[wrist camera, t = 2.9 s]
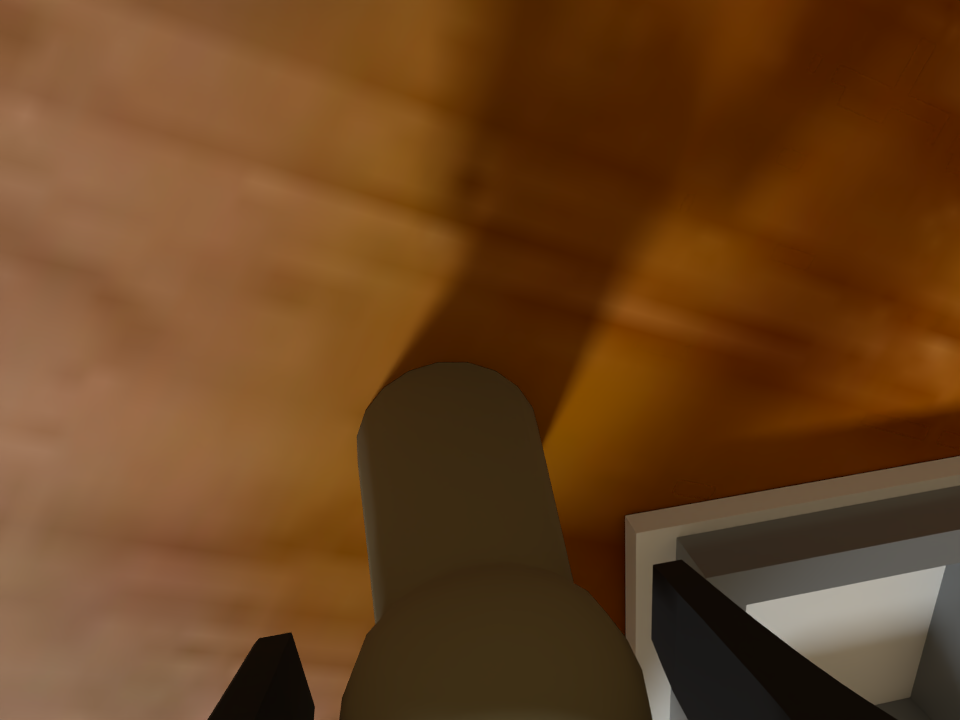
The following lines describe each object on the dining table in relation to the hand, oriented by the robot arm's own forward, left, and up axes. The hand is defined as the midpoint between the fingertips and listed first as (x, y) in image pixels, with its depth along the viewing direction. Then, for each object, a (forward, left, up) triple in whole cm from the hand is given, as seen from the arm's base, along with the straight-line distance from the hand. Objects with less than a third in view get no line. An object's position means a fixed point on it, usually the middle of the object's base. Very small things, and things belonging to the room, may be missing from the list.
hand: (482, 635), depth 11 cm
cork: (0, 0, -8) cm, 8 cm away
